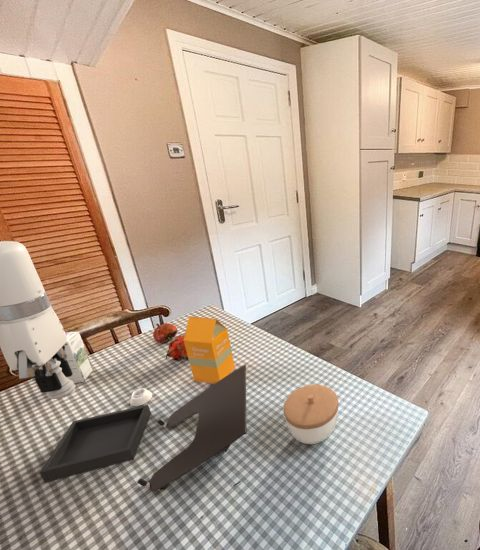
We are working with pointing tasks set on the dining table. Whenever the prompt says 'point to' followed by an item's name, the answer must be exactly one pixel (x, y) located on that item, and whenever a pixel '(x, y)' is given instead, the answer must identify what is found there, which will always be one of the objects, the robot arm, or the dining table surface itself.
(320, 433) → the lidded bowl
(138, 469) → the dining table surface
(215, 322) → the orange juice
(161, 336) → the pomegranate
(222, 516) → the dining table surface
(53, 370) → the rook chess piece
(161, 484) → the laptop stand
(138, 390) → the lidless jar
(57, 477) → the black tray
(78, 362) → the syrup box
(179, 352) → the dragon fruit
